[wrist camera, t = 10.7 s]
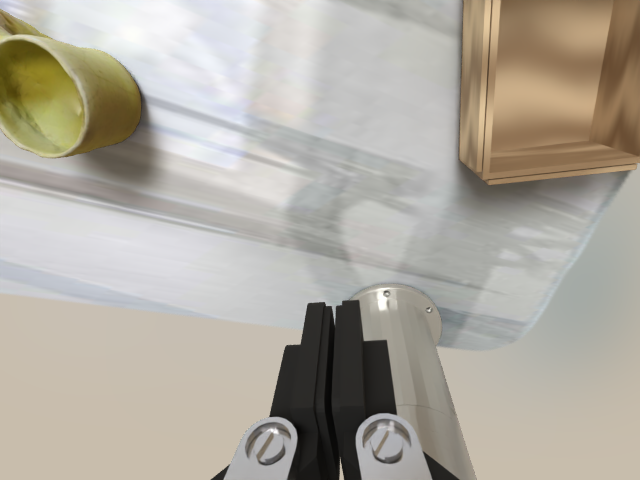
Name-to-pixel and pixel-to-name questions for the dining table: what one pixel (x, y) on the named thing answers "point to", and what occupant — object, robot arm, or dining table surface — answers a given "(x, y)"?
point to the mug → (61, 94)
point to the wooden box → (549, 88)
